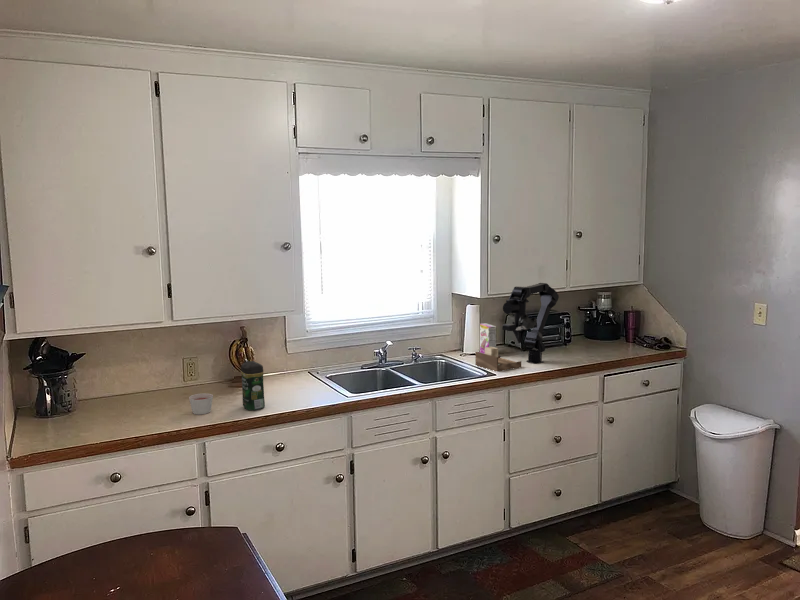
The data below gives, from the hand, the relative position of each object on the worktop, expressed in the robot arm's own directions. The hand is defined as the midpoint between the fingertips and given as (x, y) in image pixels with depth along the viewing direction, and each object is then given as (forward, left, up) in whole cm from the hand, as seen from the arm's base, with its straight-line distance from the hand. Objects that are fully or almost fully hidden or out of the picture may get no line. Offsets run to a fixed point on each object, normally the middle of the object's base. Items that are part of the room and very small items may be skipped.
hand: (519, 342), depth 327 cm
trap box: (+8, -6, -12) cm, 16 cm away
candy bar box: (-5, -30, -12) cm, 33 cm away
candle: (+155, -15, -12) cm, 156 cm away
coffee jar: (+136, -9, -12) cm, 137 cm away
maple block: (+13, -6, -10) cm, 18 cm away
